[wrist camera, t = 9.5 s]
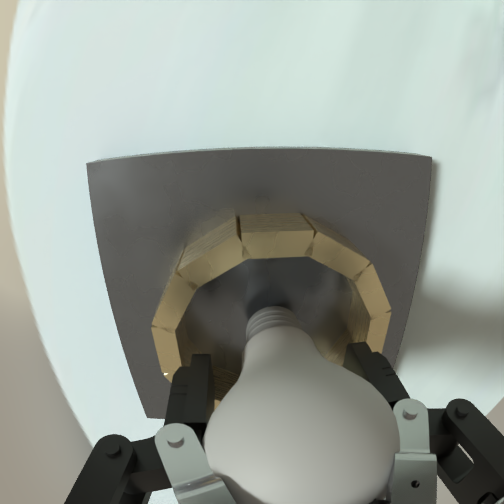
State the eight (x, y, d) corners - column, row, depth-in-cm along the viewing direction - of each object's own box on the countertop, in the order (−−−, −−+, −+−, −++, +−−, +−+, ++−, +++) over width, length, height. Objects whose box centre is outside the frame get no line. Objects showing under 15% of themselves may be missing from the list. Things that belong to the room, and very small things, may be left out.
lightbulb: (327, 252, 14) (465, 450, 4) (330, 353, 17) (403, 530, 7) (196, 274, 14) (161, 517, 4) (222, 372, 17) (228, 566, 6)
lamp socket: (375, 386, 20) (394, 426, 17) (150, 402, 19) (140, 446, 16) (416, 153, 14) (463, 164, 11) (99, 159, 14) (59, 171, 10)
